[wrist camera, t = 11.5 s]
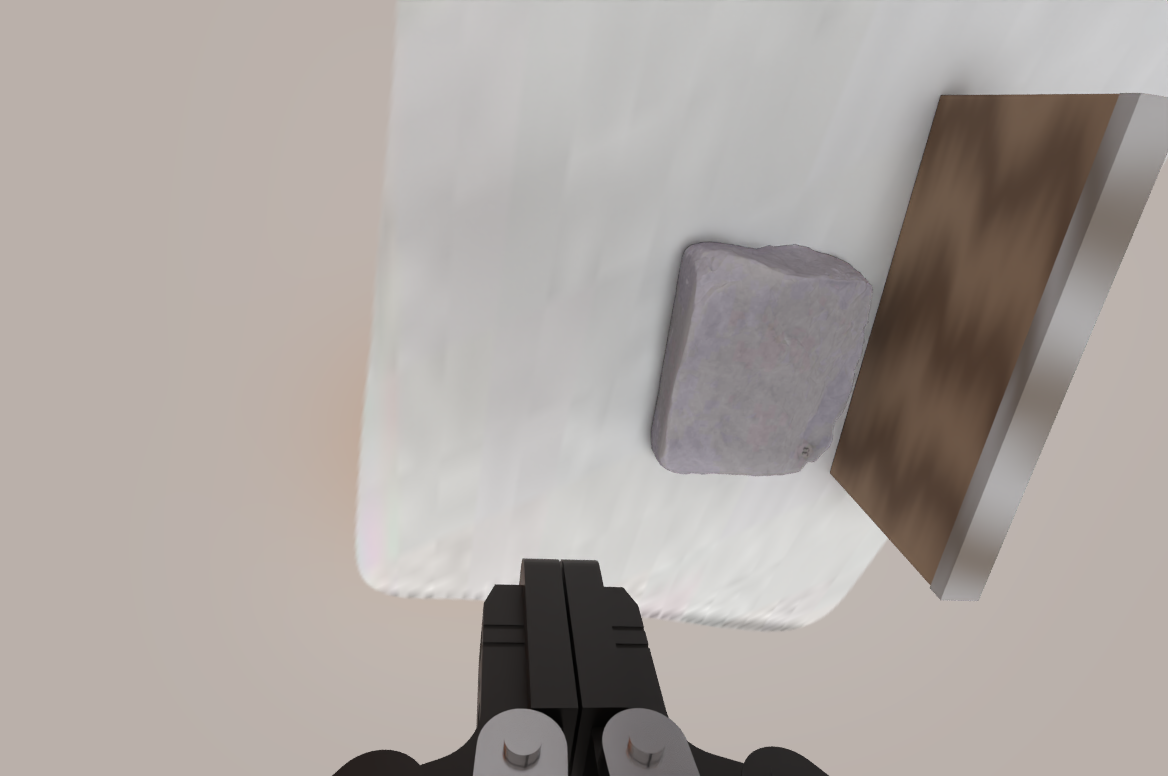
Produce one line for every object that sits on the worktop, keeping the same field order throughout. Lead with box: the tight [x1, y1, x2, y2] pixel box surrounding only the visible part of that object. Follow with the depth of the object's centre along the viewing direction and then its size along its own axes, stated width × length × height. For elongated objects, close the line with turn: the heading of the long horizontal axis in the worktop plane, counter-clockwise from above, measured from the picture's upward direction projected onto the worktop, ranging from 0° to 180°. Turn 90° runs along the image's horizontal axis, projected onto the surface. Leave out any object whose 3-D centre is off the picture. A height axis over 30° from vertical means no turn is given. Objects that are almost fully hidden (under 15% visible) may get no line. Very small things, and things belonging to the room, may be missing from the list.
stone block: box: [651, 242, 873, 476], centre depth 34 cm, size 12×5×10 cm
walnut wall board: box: [830, 93, 1168, 601], centre depth 30 cm, size 20×2×11 cm, turn 173°
